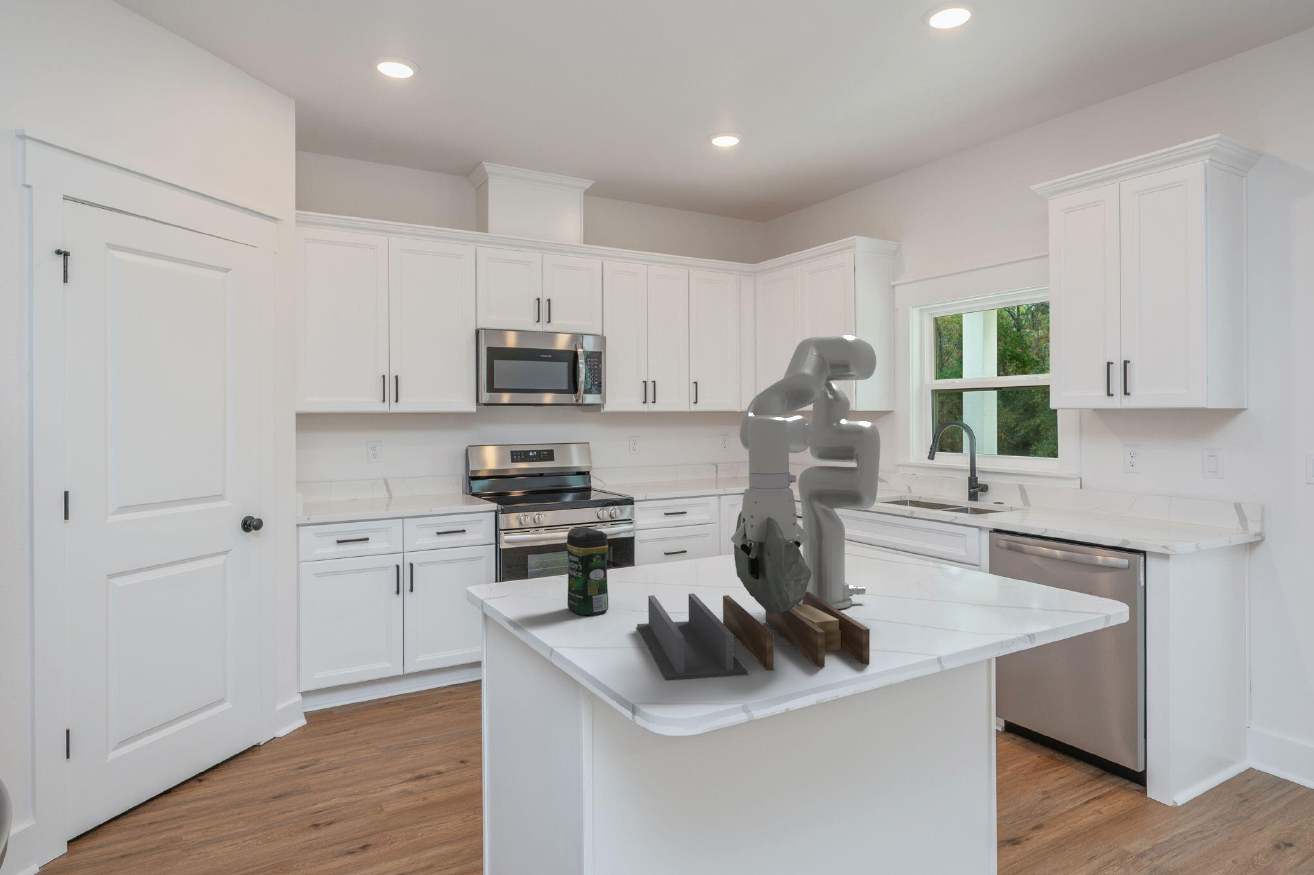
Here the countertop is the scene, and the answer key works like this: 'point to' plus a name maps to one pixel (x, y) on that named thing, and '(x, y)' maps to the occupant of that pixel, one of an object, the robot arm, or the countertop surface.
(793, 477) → the robot arm
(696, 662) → the slab stand
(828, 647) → the offcut
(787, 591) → the rock
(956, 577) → the countertop surface
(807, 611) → the offcut
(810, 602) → the walnut rack
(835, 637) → the offcut
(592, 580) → the coffee jar
